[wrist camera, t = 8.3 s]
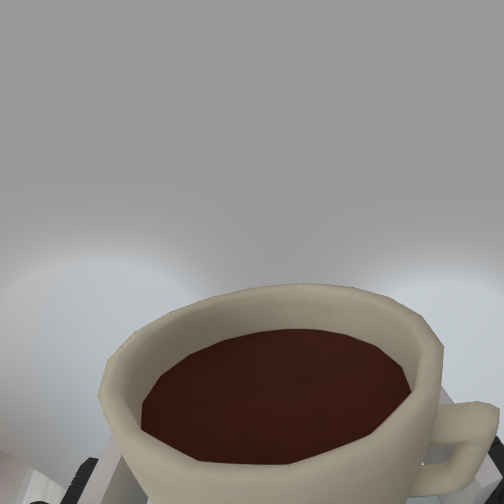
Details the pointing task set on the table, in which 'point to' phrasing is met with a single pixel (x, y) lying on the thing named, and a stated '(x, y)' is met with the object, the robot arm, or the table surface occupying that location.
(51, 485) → the table surface
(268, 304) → the character mug
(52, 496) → the table surface
